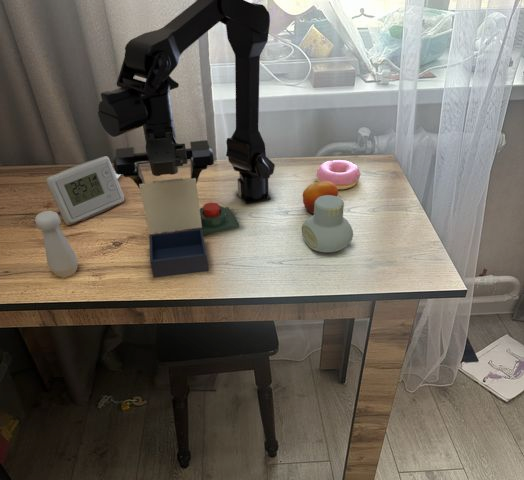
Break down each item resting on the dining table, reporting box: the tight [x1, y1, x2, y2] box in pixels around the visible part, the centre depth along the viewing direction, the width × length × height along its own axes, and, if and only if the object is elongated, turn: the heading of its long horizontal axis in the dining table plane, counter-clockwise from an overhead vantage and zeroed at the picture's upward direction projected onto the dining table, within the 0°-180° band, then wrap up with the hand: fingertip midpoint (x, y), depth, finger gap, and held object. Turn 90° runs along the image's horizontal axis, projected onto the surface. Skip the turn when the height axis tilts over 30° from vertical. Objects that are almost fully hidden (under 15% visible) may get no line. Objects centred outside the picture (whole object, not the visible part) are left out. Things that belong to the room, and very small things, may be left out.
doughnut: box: [315, 159, 362, 190], centre depth 126 cm, size 11×11×4 cm
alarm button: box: [202, 202, 220, 217], centre depth 112 cm, size 4×4×2 cm
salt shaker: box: [34, 210, 79, 279], centre depth 98 cm, size 6×6×13 cm
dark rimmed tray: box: [148, 229, 210, 279], centre depth 103 cm, size 10×11×4 cm
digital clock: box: [45, 155, 125, 226], centre depth 117 cm, size 16×9×11 cm, turn 124°
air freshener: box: [301, 195, 354, 253], centre depth 104 cm, size 11×8×10 cm
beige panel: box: [138, 178, 202, 235], centre depth 103 cm, size 10×11×4 cm
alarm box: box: [191, 205, 240, 236], centre depth 114 cm, size 10×8×3 cm
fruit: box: [302, 181, 339, 214], centre depth 116 cm, size 8×8×8 cm
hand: (170, 197), depth 103 cm, fingers open, 9 cm apart
